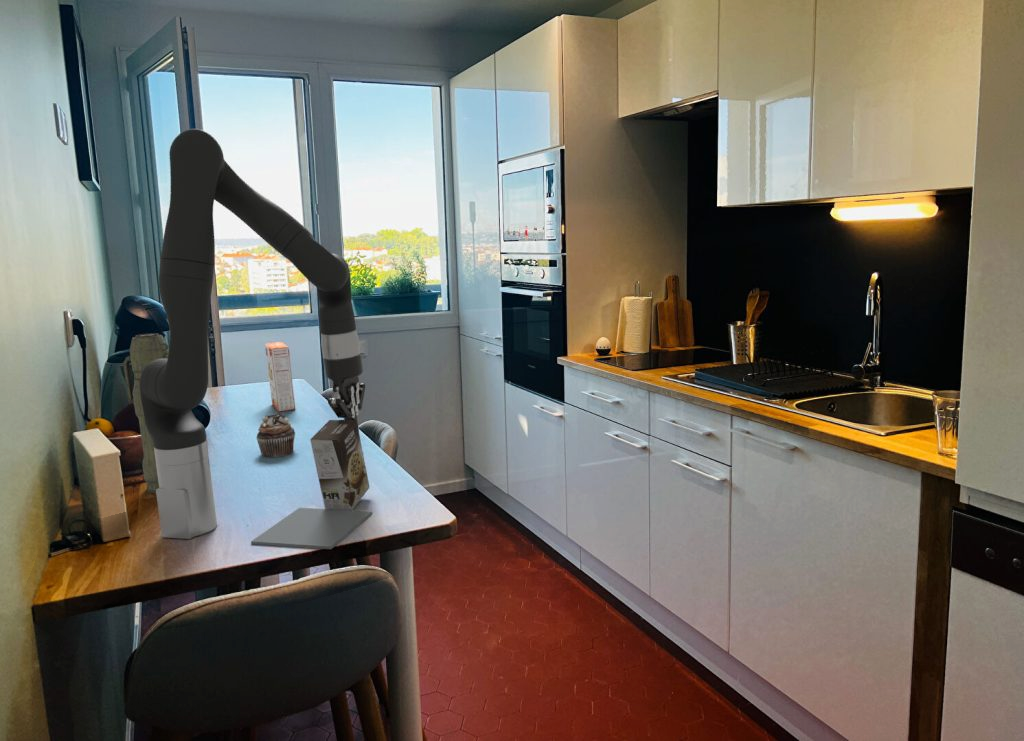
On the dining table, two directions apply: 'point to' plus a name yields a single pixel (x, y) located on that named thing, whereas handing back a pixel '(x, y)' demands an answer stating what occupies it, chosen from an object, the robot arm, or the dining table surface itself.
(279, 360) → the cracker box
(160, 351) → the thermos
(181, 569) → the dining table surface
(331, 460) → the coffee box
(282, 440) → the cupcake
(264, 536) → the mat
